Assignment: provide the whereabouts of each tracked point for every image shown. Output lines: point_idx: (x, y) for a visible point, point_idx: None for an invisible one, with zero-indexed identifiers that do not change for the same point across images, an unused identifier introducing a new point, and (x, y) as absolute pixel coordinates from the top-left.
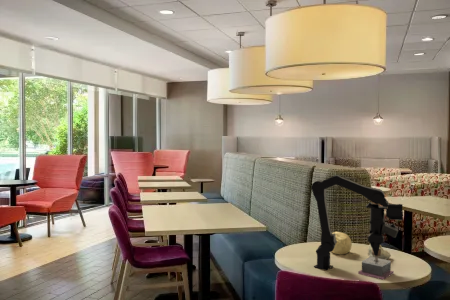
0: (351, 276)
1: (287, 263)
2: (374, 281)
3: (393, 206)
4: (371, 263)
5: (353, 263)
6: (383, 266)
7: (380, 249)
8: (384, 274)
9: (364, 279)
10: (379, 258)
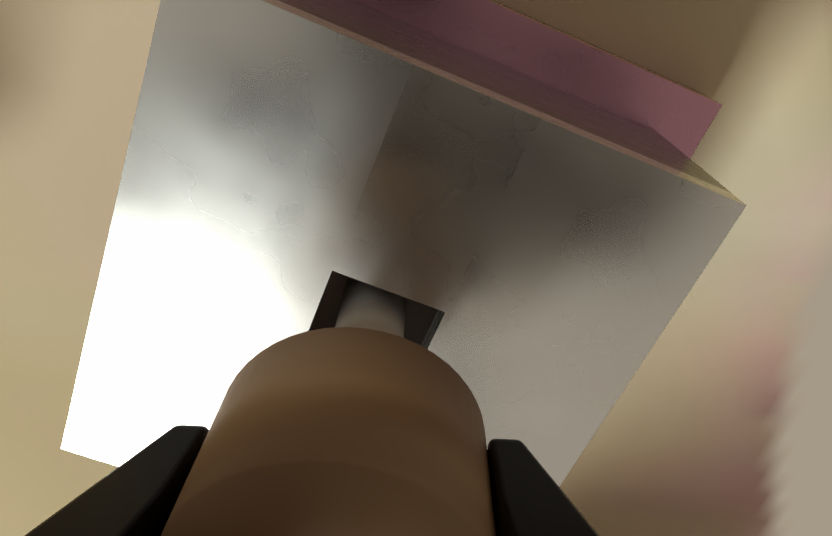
0: (645, 517)
1: None
2: (820, 241)
3: None
4: (595, 424)
5: (25, 513)
6: (668, 164)
7: (269, 476)
8: (556, 88)
9: (744, 373)
10: (109, 268)
